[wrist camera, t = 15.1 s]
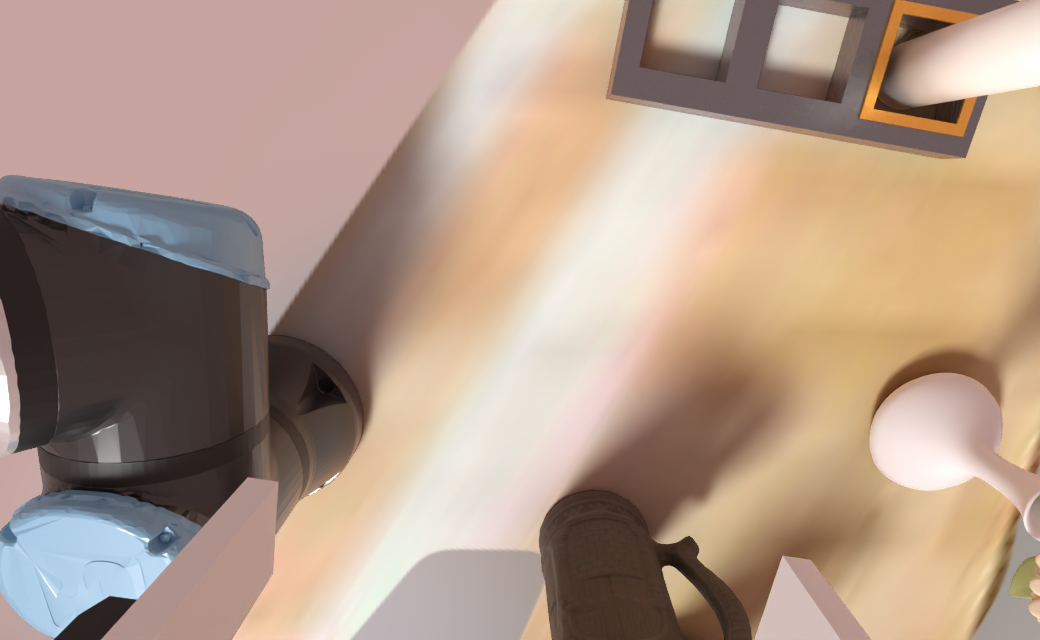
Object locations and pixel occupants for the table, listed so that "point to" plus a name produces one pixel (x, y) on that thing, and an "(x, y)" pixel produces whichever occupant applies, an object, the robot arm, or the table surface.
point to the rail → (843, 116)
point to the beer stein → (621, 574)
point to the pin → (966, 59)
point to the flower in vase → (955, 452)
